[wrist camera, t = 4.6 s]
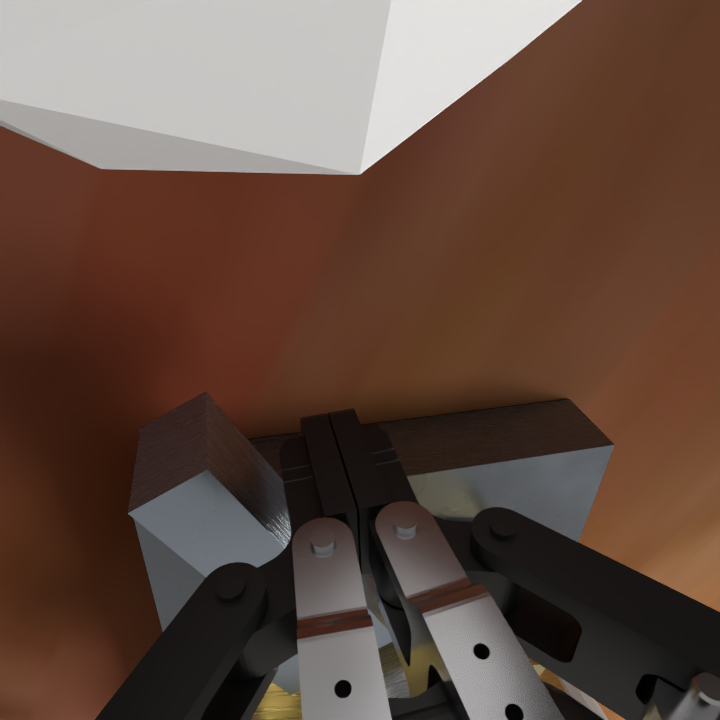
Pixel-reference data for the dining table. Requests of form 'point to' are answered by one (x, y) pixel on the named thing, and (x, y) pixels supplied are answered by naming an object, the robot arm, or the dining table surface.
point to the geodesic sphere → (248, 76)
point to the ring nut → (226, 515)
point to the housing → (453, 484)
